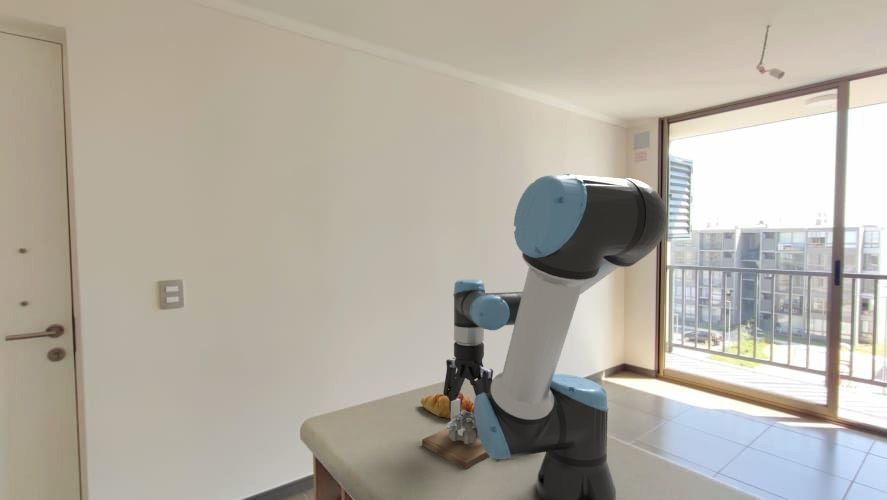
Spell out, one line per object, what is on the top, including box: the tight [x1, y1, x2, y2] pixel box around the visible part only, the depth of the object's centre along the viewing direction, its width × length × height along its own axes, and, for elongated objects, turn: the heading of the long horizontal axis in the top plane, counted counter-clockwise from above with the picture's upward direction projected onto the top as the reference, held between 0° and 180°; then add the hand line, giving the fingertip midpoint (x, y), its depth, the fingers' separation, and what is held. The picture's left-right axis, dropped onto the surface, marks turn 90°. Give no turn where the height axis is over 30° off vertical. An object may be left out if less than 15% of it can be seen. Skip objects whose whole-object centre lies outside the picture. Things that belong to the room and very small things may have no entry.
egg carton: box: [446, 410, 478, 444], centre depth 103 cm, size 11×8×4 cm
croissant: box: [420, 391, 474, 420], centre depth 122 cm, size 21×10×8 cm, turn 63°
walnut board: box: [421, 428, 490, 470], centre depth 104 cm, size 15×18×2 cm
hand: (468, 430), depth 104 cm, fingers closed on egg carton, 8 cm apart
